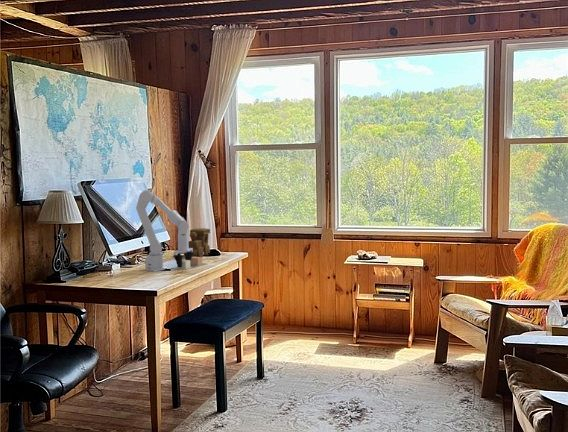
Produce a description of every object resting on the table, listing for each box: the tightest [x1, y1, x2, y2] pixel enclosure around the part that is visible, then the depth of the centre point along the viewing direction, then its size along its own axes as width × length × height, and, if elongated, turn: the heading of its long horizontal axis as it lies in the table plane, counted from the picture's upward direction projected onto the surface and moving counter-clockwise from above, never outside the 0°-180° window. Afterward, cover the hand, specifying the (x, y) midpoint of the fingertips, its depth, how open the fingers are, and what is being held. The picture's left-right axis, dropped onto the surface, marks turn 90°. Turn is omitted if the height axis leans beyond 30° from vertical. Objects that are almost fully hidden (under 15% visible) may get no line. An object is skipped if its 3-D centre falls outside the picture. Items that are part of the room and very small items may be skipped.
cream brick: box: [176, 259, 190, 269], centre depth 320 cm, size 4×6×4 cm, turn 62°
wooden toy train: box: [183, 227, 211, 258], centre depth 362 cm, size 20×11×17 cm, turn 164°
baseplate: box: [170, 256, 208, 271], centre depth 325 cm, size 21×11×5 cm, turn 152°
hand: (183, 266), depth 320 cm, fingers open, 7 cm apart
